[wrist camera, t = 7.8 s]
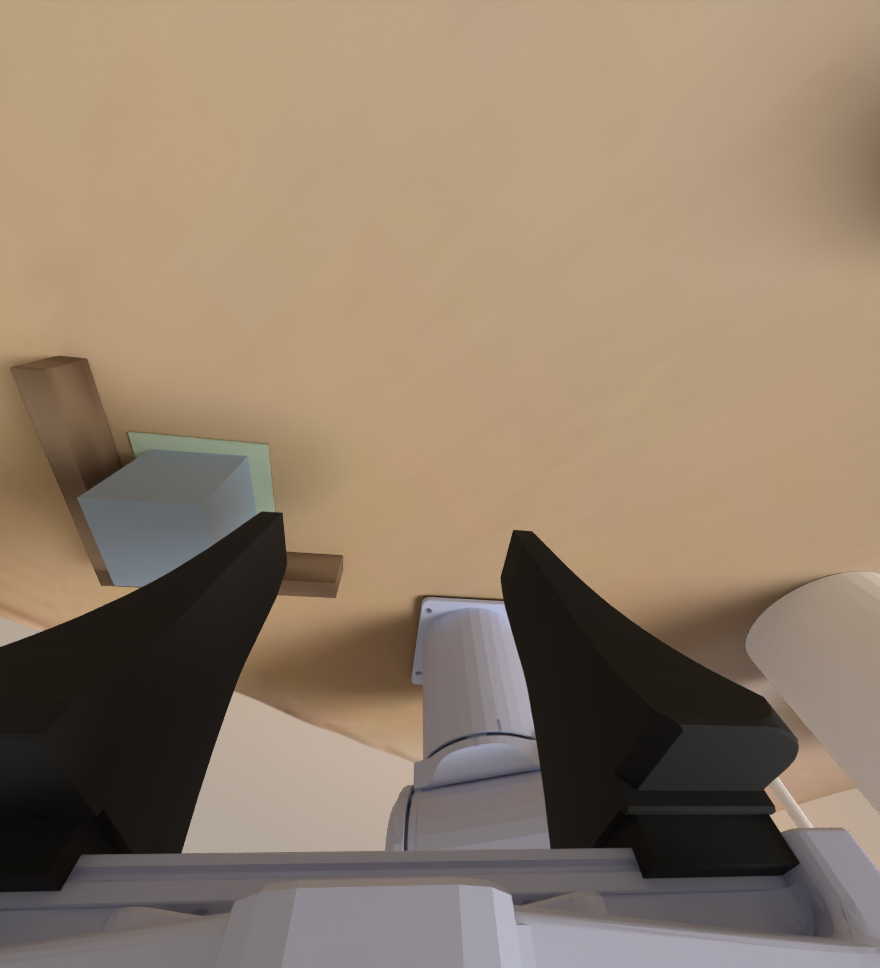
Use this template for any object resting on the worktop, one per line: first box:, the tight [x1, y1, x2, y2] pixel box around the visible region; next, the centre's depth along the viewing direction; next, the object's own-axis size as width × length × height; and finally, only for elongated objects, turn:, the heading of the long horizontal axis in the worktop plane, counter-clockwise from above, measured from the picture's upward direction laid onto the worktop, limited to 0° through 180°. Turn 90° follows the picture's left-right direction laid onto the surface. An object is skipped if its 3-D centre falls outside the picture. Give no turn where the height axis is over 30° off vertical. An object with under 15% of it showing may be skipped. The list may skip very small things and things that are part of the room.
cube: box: [77, 449, 257, 587], centre depth 20 cm, size 5×5×5 cm
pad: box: [128, 431, 275, 514], centre depth 22 cm, size 7×7×1 cm
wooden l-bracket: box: [10, 356, 343, 598], centre depth 20 cm, size 12×13×2 cm
